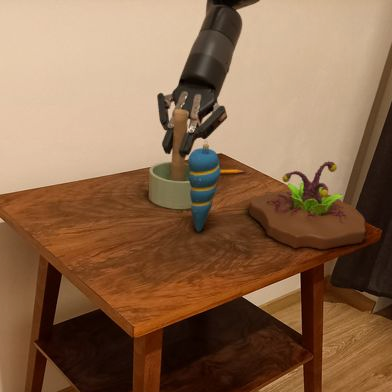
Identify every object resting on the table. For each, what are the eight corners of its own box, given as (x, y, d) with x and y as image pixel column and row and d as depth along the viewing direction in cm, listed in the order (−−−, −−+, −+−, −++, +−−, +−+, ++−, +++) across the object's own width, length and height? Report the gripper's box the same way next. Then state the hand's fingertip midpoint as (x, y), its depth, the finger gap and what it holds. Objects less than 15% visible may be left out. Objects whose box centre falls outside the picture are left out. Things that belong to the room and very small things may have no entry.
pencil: (156, 171, 110) (157, 170, 109) (243, 169, 116) (244, 169, 115) (157, 175, 110) (157, 174, 110) (243, 173, 116) (245, 172, 115)
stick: (160, 197, 100) (165, 112, 91) (167, 188, 103) (172, 106, 94) (184, 201, 99) (191, 116, 90) (190, 192, 103) (197, 110, 94)
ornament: (192, 240, 89) (201, 147, 79) (176, 227, 92) (183, 137, 83) (218, 234, 91) (230, 144, 82) (202, 222, 94) (211, 134, 85)
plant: (383, 246, 93) (404, 183, 86) (280, 253, 88) (294, 186, 81) (329, 199, 108) (344, 143, 101) (238, 202, 102) (247, 142, 96)
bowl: (141, 203, 98) (142, 176, 95) (157, 183, 106) (158, 158, 103) (195, 213, 97) (198, 186, 94) (207, 192, 105) (210, 167, 102)
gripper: (166, 45, 94) (132, 133, 93) (240, 58, 91) (206, 150, 89) (177, 73, 102) (145, 156, 100) (246, 86, 98) (214, 172, 96)
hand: (174, 153), depth 95 cm, fingers closed on stick, 2 cm apart
